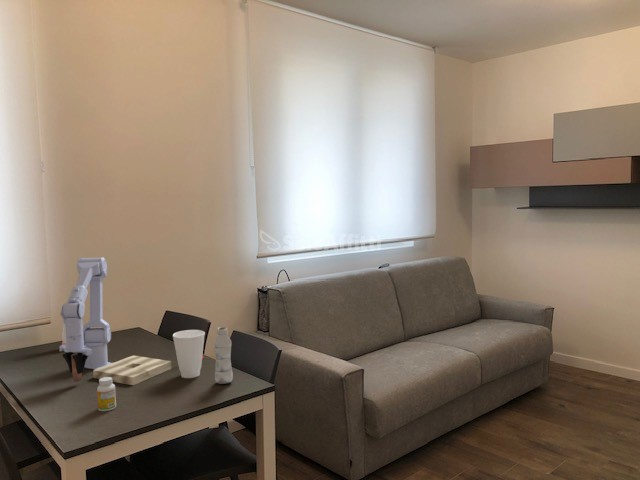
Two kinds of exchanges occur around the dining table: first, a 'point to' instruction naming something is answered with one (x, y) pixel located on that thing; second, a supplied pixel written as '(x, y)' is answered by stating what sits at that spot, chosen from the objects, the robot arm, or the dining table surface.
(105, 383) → the supplement bottle
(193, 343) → the cup
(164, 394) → the dining table surface
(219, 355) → the plastic bottle
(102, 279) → the robot arm
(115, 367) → the socket block
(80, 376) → the peg
